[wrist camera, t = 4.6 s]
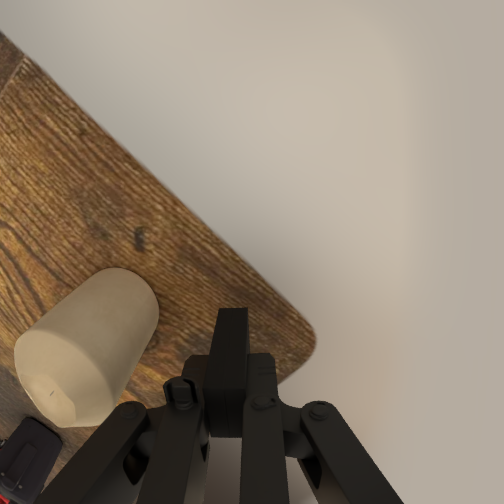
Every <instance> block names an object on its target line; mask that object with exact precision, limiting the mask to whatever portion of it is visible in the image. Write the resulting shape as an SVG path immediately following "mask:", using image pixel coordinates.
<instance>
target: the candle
mask: <svg viewBox="0 0 504 504" xmlns="http://www.w3.org/2000/svg"><path fill="white" fill-rule="evenodd" d="M158 319H159V306H158V302H157V299H156V296H155V294H154V292H153V291H152V289H151V288H150V286H149V285H148V284H147V283H146V282H145V281H144V280H143V279H142V278H141V277H140V276H138V275H137V274H135V273H133V272H131V271H129V270H126V269H123V268H107V269H104V270H101V271H99V272H97V273H95V274H94V275H93V276H91V277H90V278H89V279H87V280H86V281H85V282H84V283H82V284H81V285H80V286H79V287H77V288H76V289H75V290H74V291H72V292H71V293H70V294H69V295H68V296H66V297H65V298H64V299H63V300H62V301H60V302H59V303H58V304H57V305H56V306H54V307H53V308H52V309H51V310H50V311H48V312H47V313H46V314H45V315H44V316H43V317H41V318H40V319H39V320H38V321H37V322H36V323H35V324H33V325H32V326H31V327H30V328H29V329H28V330H27V331H26V332H24V333H23V334H22V335H21V336H20V337H19V338H18V340H17V342H16V344H15V348H14V360H15V366H16V371H17V374H18V377H19V380H20V382H21V385H22V387H23V388H24V390H25V391H26V393H27V394H28V396H29V397H30V398H31V400H32V401H33V402H34V404H35V405H36V407H37V408H38V410H39V411H40V412H41V413H42V414H43V415H44V416H45V417H46V418H48V419H49V420H51V421H52V422H53V423H54V424H55V425H56V426H58V427H60V428H67V427H85V426H96V425H100V424H102V423H103V421H104V420H105V419H106V418H107V417H108V416H109V415H110V413H111V412H112V411H113V410H114V408H115V406H116V404H117V402H118V400H119V398H120V396H121V394H122V392H123V390H124V388H125V386H126V385H127V383H128V381H129V379H130V377H131V375H132V373H133V371H134V369H135V367H136V365H137V363H138V361H139V360H140V358H141V356H142V354H143V352H144V350H145V348H146V346H147V344H148V343H149V341H150V339H151V337H152V335H153V333H154V331H155V329H156V327H157V324H158Z"/></svg>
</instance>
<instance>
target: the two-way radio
mask: <svg viewBox="0 0 504 504" xmlns="http://www.w3.org/2000/svg"><path fill="white" fill-rule="evenodd" d="M61 449H62V443H61V441H60V439H59V438H58V437H57V436H56V435H55V434H54V433H52V432H51V431H49V430H48V429H47V428H45V427H44V426H42V425H41V424H40V423H38V422H37V421H35V420H33V419H30V418H25V419H24V420H23V421H22V422H21V424H20V425H19V426H18V427H17V429H16V430H15V431H14V432H13V433H12V435H11V436H10V437H9V439H8V440H7V442H6V443H5V445H4V446H3V447H2V449H1V450H0V494H1V495H2V496H3V497H5V498H6V499H8V500H9V501H10V502H8V504H32V503H33V502H34V501H35V500H36V499H37V497H38V496H39V495H40V493H41V491H42V490H43V488H44V483H45V481H46V479H47V477H48V475H49V473H50V472H51V470H52V468H53V466H54V464H55V461H56V459H57V457H58V455H59V453H60V451H61Z"/></svg>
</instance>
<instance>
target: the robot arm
mask: <svg viewBox="0 0 504 504" xmlns="http://www.w3.org/2000/svg"><path fill="white" fill-rule="evenodd" d="M163 389H164V393H165V397H166V401H167V404H166V405H164V406H161V407H157V408H151V409H146V407H145V406H144V405H143V404H142V403H140V402H137V401H127V402H124V403H121V404H119V405H118V406H117V407H116V408H115V409H114V410H113V411H112V412H111V413H110V415H109V416H108V417H107V418H106V419H105V420H104V421H103V423H102V424H101V425H100V426H99V427H98V428H97V430H96V431H95V432H94V433H93V434H92V435H91V436H90V438H89V439H88V440H87V441H86V442H85V443H84V444H83V446H82V447H81V448H80V449H79V450H78V451H77V453H76V454H75V455H74V456H73V457H72V458H71V459H70V461H69V462H68V463H67V464H66V465H65V466H64V467H63V469H62V470H61V471H60V472H59V473H58V474H57V476H56V477H55V478H54V479H53V480H52V481H51V482H50V484H49V485H48V486H47V487H46V488H45V489H44V490H43V492H42V493H41V494H40V495H39V496H38V497H37V499H36V500H35V501H34V502H33V503H32V504H132V503H133V501H134V500H135V498H136V497H137V495H138V494H139V496H138V500H137V503H136V504H203V498H204V490H205V482H206V474H207V466H208V458H209V451H210V450H209V449H210V445H209V440H208V439H209V432H210V435H211V437H220V438H222V437H224V438H242V452H241V454H242V455H241V477H240V503H239V504H289V493H288V482H287V471H286V460H285V456H287V457H293V458H297V461H298V462H299V465H300V467H301V469H302V471H303V473H304V475H305V477H306V479H307V481H308V483H309V485H310V487H311V489H312V491H313V493H314V495H315V497H316V499H317V501H318V503H319V504H404V503H403V502H402V500H401V499H400V498H399V496H398V495H397V493H396V492H395V491H394V489H393V488H392V486H391V485H390V484H389V482H388V481H387V480H386V478H385V477H384V475H383V474H382V472H381V471H380V470H379V468H378V467H377V465H376V464H375V463H374V461H373V460H372V458H371V457H370V456H369V454H368V453H367V451H366V450H365V449H364V447H363V446H362V444H361V443H360V442H359V440H358V439H357V437H356V436H355V434H354V433H353V432H352V430H351V429H350V427H349V426H348V424H347V423H346V422H345V420H344V419H343V417H342V416H341V414H340V413H339V412H338V410H337V409H336V407H334V406H333V405H332V404H330V403H328V402H326V401H313V402H310V403H307V404H305V406H303V407H302V408H296V407H292V406H289V405H286V404H284V403H283V402H282V401H281V400H280V398H279V396H278V388H277V378H276V368H275V359H274V358H273V357H272V356H271V354H270V353H255V354H250V344H249V324H248V308H219V311H218V316H217V320H216V325H215V330H214V334H213V339H212V344H211V348H210V353H209V355H191V356H190V357H189V358H188V359H187V360H186V361H185V364H184V368H183V371H182V375H181V376H178V377H174V378H171V379H169V380H168V381H166V382H165V383H164V385H163Z"/></svg>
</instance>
